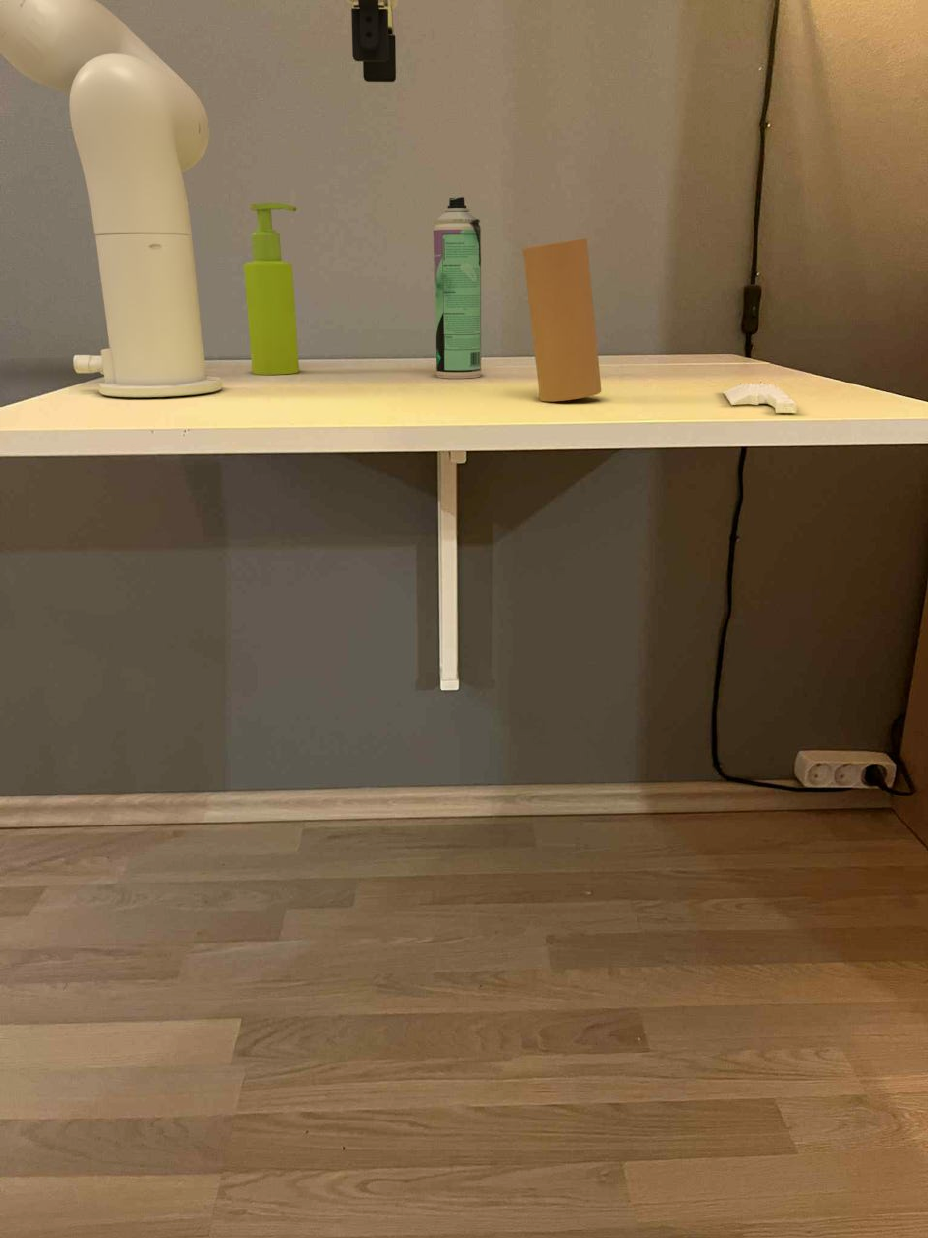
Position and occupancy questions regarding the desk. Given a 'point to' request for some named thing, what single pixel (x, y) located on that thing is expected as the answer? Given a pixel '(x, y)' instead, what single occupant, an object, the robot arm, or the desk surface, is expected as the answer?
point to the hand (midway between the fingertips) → (375, 71)
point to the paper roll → (562, 320)
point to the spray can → (457, 292)
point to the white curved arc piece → (761, 396)
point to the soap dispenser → (270, 300)
